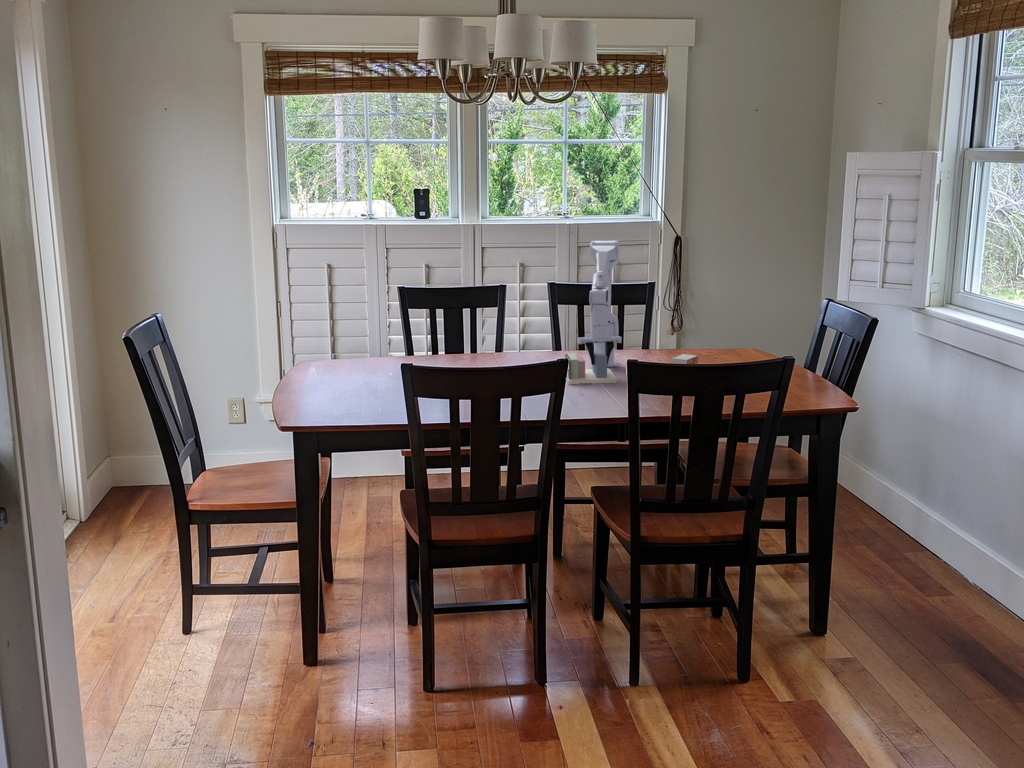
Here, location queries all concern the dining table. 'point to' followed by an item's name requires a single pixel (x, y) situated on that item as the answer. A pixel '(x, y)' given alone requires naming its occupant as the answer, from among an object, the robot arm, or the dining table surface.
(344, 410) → the dining table surface
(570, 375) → the bookend
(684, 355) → the small box
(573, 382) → the shelf board
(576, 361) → the books
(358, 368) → the dining table surface
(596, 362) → the slate book
